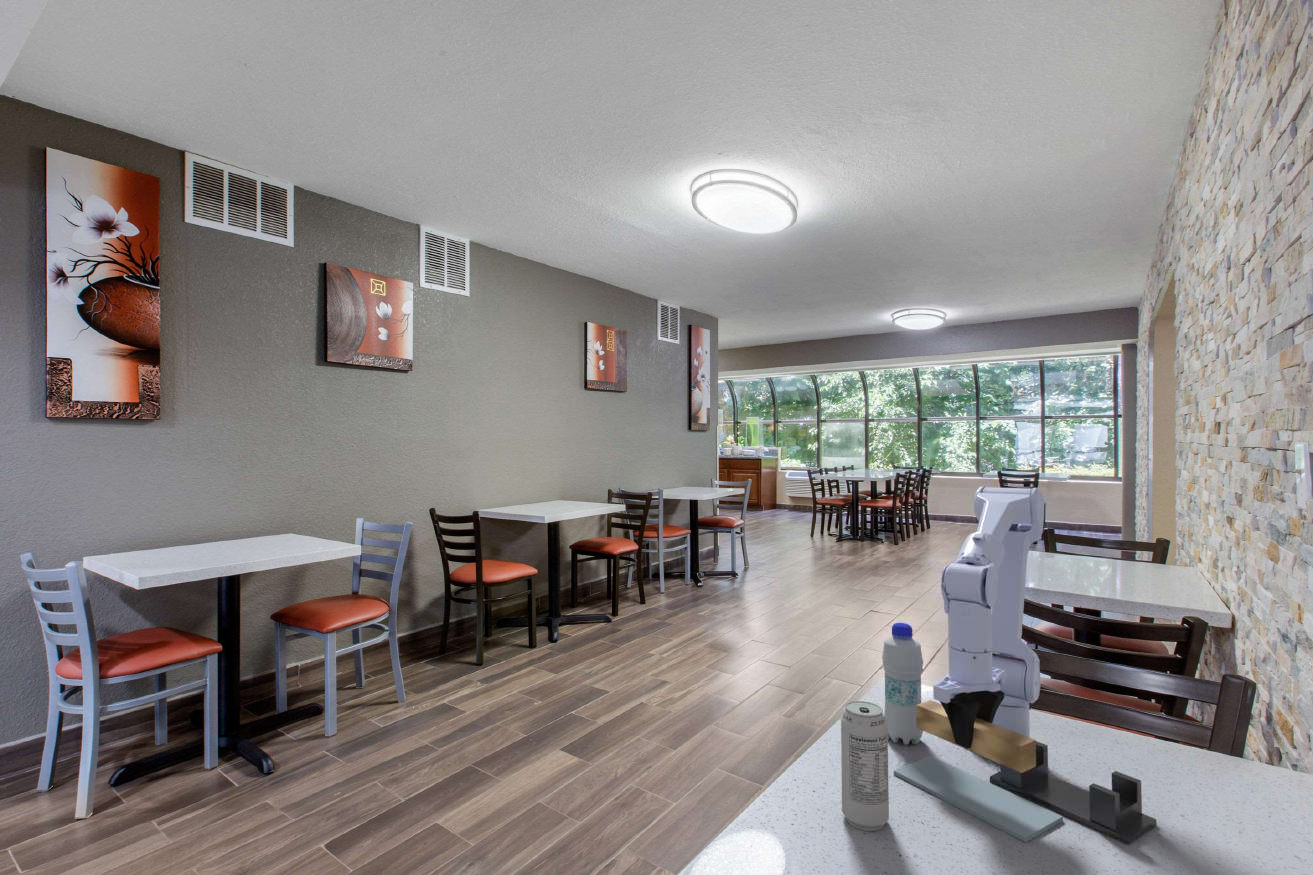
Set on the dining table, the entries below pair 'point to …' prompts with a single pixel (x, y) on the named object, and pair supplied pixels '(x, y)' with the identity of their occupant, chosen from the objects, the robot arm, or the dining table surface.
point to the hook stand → (1082, 798)
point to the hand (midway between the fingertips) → (971, 741)
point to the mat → (980, 798)
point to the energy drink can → (864, 766)
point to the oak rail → (981, 738)
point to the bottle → (902, 683)
